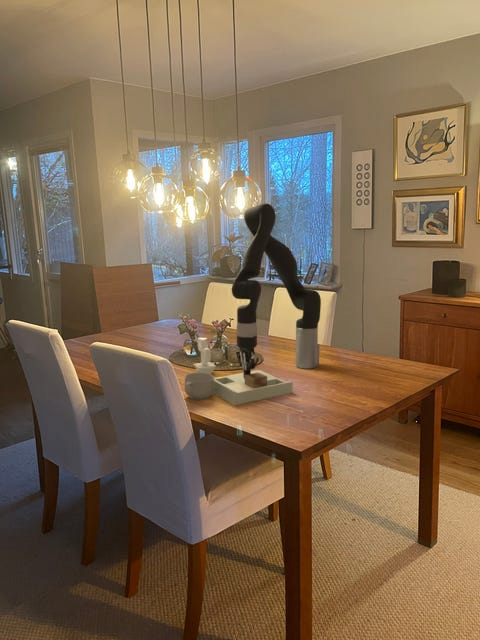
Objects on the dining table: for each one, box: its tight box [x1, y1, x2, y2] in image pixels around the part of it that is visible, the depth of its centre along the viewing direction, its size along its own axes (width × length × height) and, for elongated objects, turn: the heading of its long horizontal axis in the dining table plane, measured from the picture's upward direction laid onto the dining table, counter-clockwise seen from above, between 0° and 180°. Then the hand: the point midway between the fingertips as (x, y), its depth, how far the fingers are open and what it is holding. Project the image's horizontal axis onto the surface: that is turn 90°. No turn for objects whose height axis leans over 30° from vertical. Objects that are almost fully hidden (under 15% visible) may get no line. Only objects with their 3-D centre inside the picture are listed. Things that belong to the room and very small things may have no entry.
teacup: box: [184, 371, 216, 401], centre depth 192 cm, size 14×11×8 cm
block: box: [245, 373, 267, 388], centre depth 197 cm, size 6×6×4 cm
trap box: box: [212, 369, 294, 406], centre depth 200 cm, size 25×24×5 cm
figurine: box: [193, 337, 217, 375], centre depth 221 cm, size 7×9×15 cm
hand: (247, 378), depth 201 cm, fingers closed
